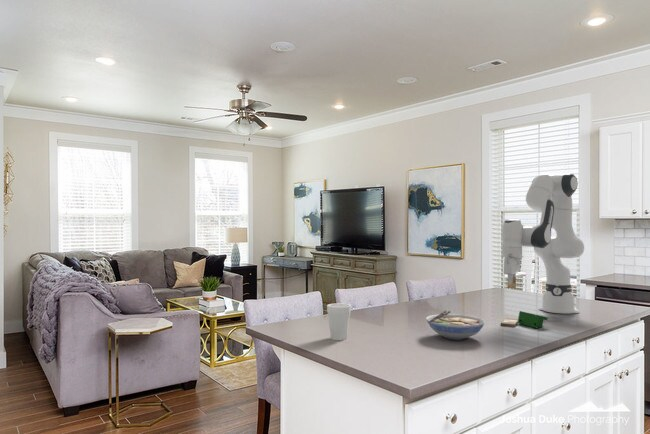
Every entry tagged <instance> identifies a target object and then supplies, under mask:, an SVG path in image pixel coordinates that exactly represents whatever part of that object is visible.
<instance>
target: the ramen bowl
mask: <svg viewBox="0 0 650 434" xmlns="http://www.w3.org/2000/svg"><path fill="white" fill-rule="evenodd" d="M425 320H426V322H427V324H428V325H429V327H430V328H431V329H432V330H433V331H434V332H435V333H436V334H437V335H440V336H442V337H445V338H446V339H448V340H452V341H453V340H455V341H463V340H465V339H467V338H470V337H473V336H475V335H477V334H478V333H479V332H480V331H481V330H482V329H483V327H484V325H485V322H486V320H485V319H483V318H482V317H478V316H474V315H467V314H458V313H457V314H456V313H451V310H448V311H447V310H443V311H442V312H441V313H438V314H431V315H428V316H426V318H425Z"/></svg>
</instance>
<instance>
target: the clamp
mask: <svg viewBox="0 0 650 434" xmlns="http://www.w3.org/2000/svg"><path fill="white" fill-rule="evenodd" d="M517 319H518V324H520V325H524V326H527V327H531V328H535V329H541V328H542V327H543V324H544V321H548V317H547V316H543V315H539V314H536V313H535V314H534V313H531V312H525V311H522V310H519V313H518V318H517Z"/></svg>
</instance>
